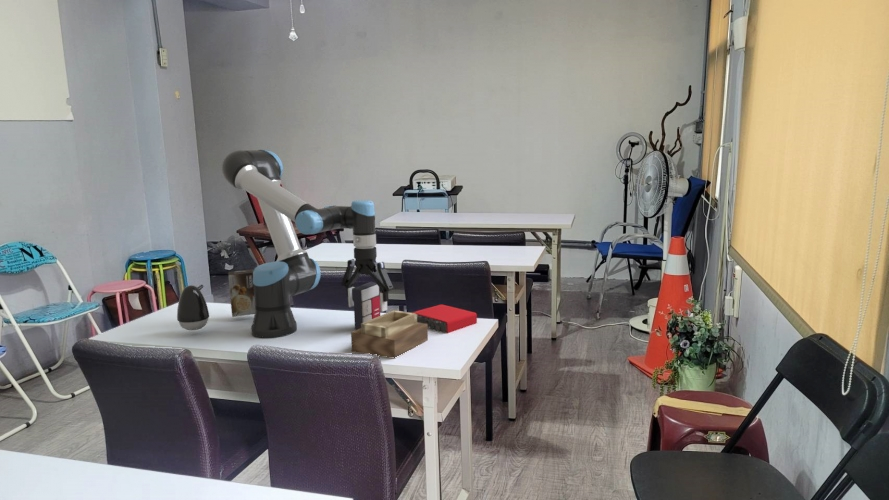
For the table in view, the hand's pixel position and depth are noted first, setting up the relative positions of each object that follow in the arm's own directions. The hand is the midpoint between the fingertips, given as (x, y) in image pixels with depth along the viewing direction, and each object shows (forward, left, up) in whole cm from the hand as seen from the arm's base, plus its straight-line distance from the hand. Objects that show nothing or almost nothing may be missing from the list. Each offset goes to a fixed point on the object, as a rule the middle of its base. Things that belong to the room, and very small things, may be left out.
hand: (367, 308), depth 202 cm
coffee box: (-53, -7, -7) cm, 54 cm away
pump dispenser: (-54, -28, -7) cm, 61 cm away
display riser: (+18, -12, -7) cm, 23 cm away
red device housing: (+21, +15, -8) cm, 27 cm away
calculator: (0, 0, -7) cm, 7 cm away
